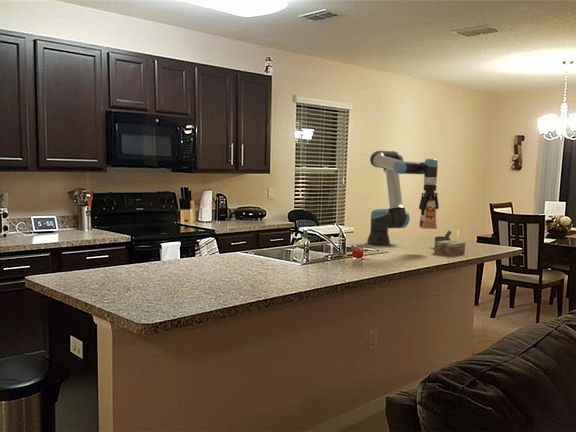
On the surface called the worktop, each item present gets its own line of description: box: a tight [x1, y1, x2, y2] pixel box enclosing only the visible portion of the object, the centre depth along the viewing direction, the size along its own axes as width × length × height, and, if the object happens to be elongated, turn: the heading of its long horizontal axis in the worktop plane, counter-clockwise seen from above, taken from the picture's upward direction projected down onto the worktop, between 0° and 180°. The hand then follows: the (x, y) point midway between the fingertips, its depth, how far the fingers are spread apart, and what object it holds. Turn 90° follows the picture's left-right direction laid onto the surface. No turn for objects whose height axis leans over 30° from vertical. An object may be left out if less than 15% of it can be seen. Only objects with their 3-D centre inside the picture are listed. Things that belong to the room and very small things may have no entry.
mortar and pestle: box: [434, 229, 453, 243], centre depth 347 cm, size 11×9×12 cm
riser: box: [433, 240, 467, 257], centre depth 324 cm, size 13×13×7 cm
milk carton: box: [419, 197, 438, 230], centre depth 325 cm, size 9×9×20 cm
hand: (428, 220), depth 325 cm, fingers closed on milk carton, 11 cm apart
